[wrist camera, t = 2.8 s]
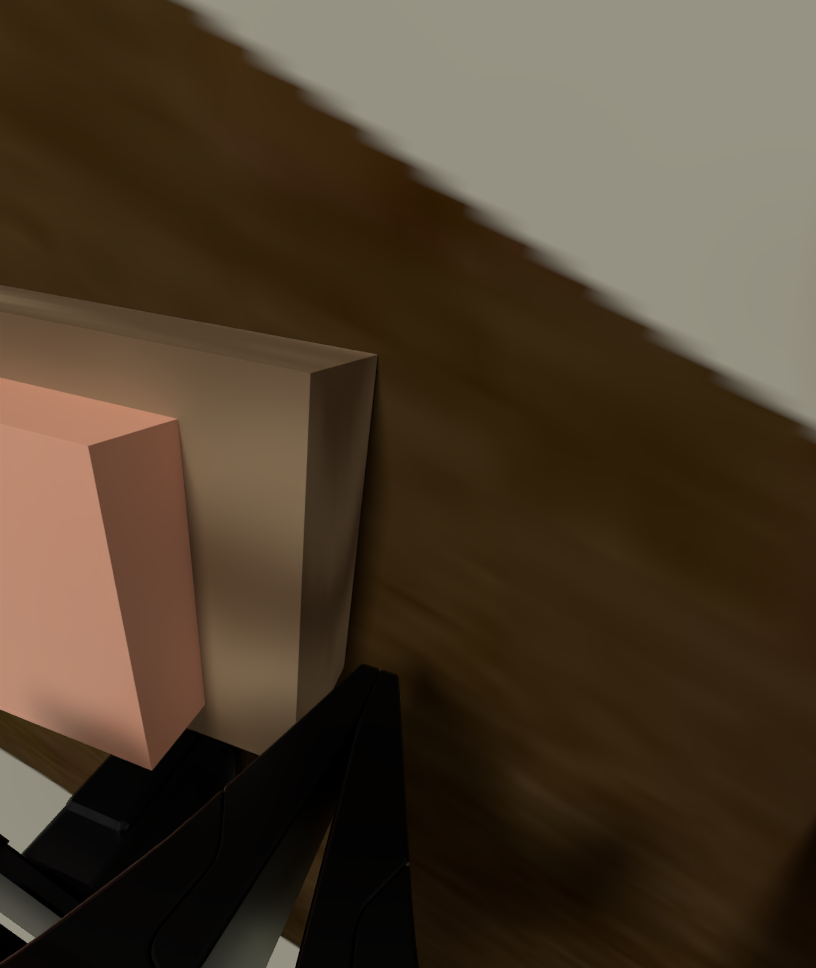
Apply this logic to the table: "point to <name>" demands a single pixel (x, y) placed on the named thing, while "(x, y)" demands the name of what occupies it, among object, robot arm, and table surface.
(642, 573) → the table surface
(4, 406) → the block
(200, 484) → the tan flat slab
